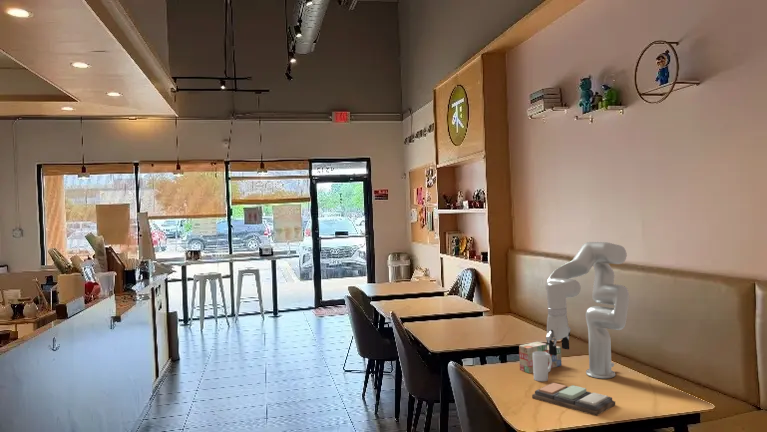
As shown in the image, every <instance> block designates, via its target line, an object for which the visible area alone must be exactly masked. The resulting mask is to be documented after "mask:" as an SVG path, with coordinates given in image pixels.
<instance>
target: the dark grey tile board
mask: <svg viewBox="0 0 767 432" xmlns="http://www.w3.org/2000/svg"><path fill="white" fill-rule="evenodd" d="M552 383H553V382H551V383H550V384H552ZM565 386H566V388H568V387H569V386H568V385H565ZM543 387H544V386H542V387H540V388H539V389H541V388H543ZM566 388H565V389H566ZM539 389H538V388H537V389H536V390H535V391H534V393H532V395H531V397H532V399H535V400H538V401H541V402H545V403H548V404H552V405H557V406H559V407H563V408H566V409H567V408H568V409H571V410H574V411H578V412H582V413H584V414H585V413H586V414H589V415H591V416H596V417H597V416H599V415H601V414H602V413H604V412H606V411H608V410H610V409H611V408H612V407H615V406H616V400H613V397H611V396H608V399H606V400H604V401H602V402H601V403H599V404H597V405H595V406H593V405H590V404H586V403H582V402H580V399H582V398H584V397H586V396H588V395H589V394H591V393H592V392H590V391H587V390H586V393H584V394H582V395H580V396H578V397H576V398H575V399H573V400H572V399H568V398H565V397H561V396H559V392H560V391H559V392H557V393H555V394H553V395H552V394H548V393H544V392H540V391H539ZM563 390H564V389H563ZM561 391H562V390H561Z"/></svg>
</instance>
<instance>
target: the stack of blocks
mask: <svg viewBox="0 0 767 432" xmlns="http://www.w3.org/2000/svg"><path fill="white" fill-rule="evenodd" d="M555 346H556V348H557V355H556V356H555V355H550V356H551V359H552V366H551V369H553V368H557V367H560V366H561V367H562V346H559V345H555ZM518 347H519V348H518V356H519V371H521V372H524V373H527V374H530V373H532V374H533V352H536V351H542V352H547V353H548V354H549V345H548V343H545V342H541V341H533V342H529V343H525V344H520V345H519V346H518ZM549 363H550V361H549V358H548V367H549Z"/></svg>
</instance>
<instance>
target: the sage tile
mask: <svg viewBox="0 0 767 432" xmlns="http://www.w3.org/2000/svg"><path fill="white" fill-rule="evenodd" d="M567 387H568V388H566V389H564V390H562V391H560V392H559V396H561V397H565V398H568V399H572V400H573V399H575V398H576V397H578V396H580V395H582V394H584V393H586V391H587V388H586V387H582V386H577V385H570V386H567Z"/></svg>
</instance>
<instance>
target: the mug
mask: <svg viewBox="0 0 767 432" xmlns="http://www.w3.org/2000/svg"><path fill="white" fill-rule="evenodd" d="M548 358H549V361H550V363H549V367H548ZM551 366H552V359H551V356H550V354H548V353H547V352H542V351H536V352H533V372H532V374H533V380H534V381H537V382H547V381H549V372H551V370H552V368H551Z"/></svg>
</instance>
